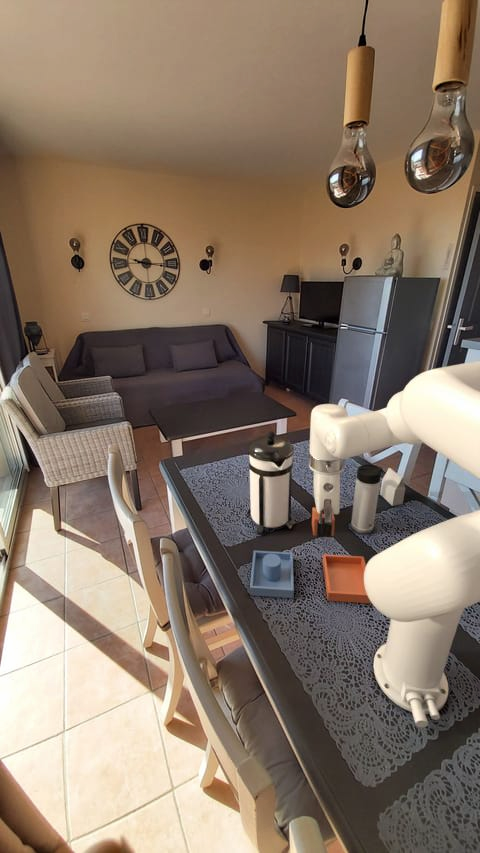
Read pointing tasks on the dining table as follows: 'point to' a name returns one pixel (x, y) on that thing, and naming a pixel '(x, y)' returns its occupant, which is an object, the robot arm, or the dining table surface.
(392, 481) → the white gabled block
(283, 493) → the coffee press
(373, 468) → the travel mug
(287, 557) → the blue tray
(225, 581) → the dining table surface
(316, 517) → the terracotta block
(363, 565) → the terracotta tray
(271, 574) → the blue cylinder
